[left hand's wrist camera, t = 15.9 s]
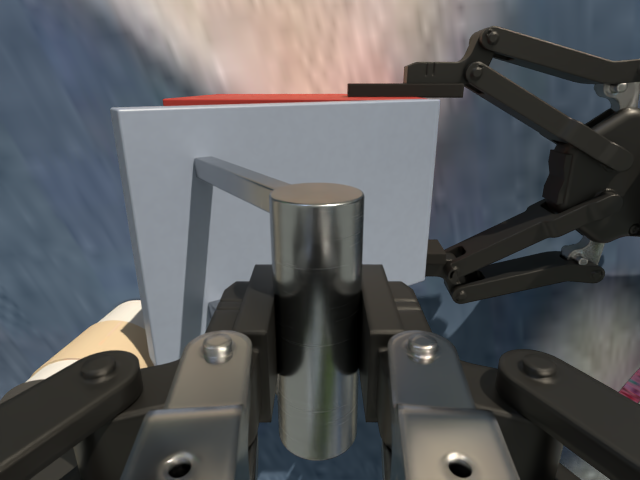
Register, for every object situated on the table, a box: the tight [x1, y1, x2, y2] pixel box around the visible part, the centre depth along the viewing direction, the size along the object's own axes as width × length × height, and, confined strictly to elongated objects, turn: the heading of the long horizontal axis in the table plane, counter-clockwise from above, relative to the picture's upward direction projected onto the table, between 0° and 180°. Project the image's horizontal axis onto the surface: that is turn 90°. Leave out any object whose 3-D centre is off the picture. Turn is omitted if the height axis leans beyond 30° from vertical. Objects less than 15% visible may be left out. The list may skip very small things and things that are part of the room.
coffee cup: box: [0, 300, 154, 480], centre depth 33 cm, size 9×9×15 cm
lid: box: [110, 99, 440, 460], centre depth 16 cm, size 15×10×10 cm
